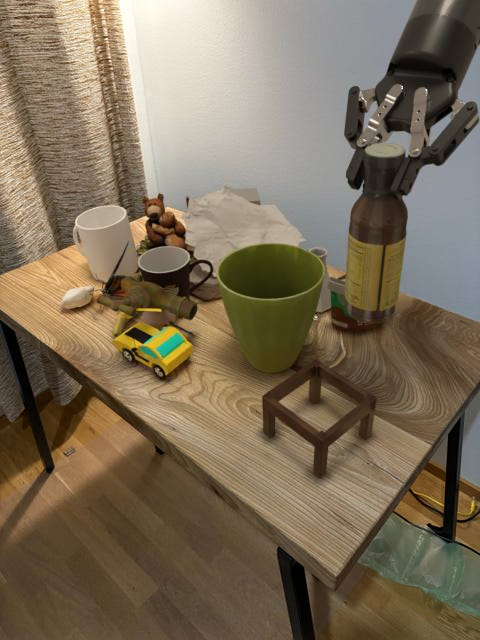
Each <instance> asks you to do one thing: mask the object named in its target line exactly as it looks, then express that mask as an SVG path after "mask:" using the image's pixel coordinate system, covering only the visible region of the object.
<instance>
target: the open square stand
mask: <svg viewBox="0 0 480 640" xmlns="http://www.w3.org/2000/svg"><path fill="white" fill-rule="evenodd" d="M322 380H323V381H324V382H326V383H328V384H329V385H331V386H332V387H333V388H335V389H337V390H338V391H339V392H341V393H342V394H344V395H346V396H347V397H349V398H350V399H352V400H353V401H355V402H357V403H358V405H356V406H355V407H354V408H353V409H352V410H350V411H349V412H348V413H347V414H345V415H344V416H343V417H341V418H340V419H339V420H337V422H335V423H333V425H331V426H330V427H329V428H328V429H326V430H325V431H324V430H320V431H319V430H317V429H316V428H315V427H313V426H312V425H311V424H310V423H308V422H307V421H305V420H304V419H302V418H301V417H300V416H299V415H297V414H296V413H295V412H293V411H291V409H289V408H287V407H286V406H285V405H283V404H282V403H281V402H280V401H282V400H283V399H284V398H286V397H288V396H289V395H290V394H292V393H293V392H294V391H296V390H298V388H300V387H301V386H303V385H304V384H306V383H307V382H309V383H308V402H309V401H310V402H311V403H312V404H314V405H316V404H317V403H319V402H320V401H321V397H322V396H321V395H322ZM377 401H378V396H376V395H375V394H373V393H372V392H369V391H368V390H366V388H363V387H361V386H360V385H358V384H357V383H355V382H353V381H352V380H351V379H349V378H347V377H346V376H344V375H343V374H341V373H339V372H338V371H336V370H334V369H333V368H332V367H330V366H328V365H327V364H325V363H323V362H322V361H321V360H319V359H317V358H315V359H314V360H312V361H311V362H309V363H308V364H306V365H305V366H303V367H302V368H301V369H299V370H298V371H296V372H295V373H292V375H290V376H288V377H287V378H286V379H285V380H283V381H282V382H280V383H279V384H277V385H276V386H274V387H273V388H271V389H270V390H268V391H267V392H265V393H264V394H263V395H262V396H261V404H262V405H261V406H262V434H263V435H264V436H266V437H267V438H268V439H270V438H272V437H273V436H274V435H276V433H277V432H276V431H277V430H276V429H277V428H276V427H277V426H276V419H278V420H279V421H280V422H281V423H282V424H284V425H285V426H287V427H288V428H289V429H290V430H292V431H293V432H295V434H297V435H299V436H300V437H301V438H302V439H304V440H306V442H308V443H309V444H310V445H312V446H313V448H314V449H313V463H312V464H313V465H312V474H313V475H314V476H315V477H317V478H318V480H321V479H322V478H323V477H324V476H326V474H327V470H328V458H329V456H328V455H329V447H331V446H332V445H333V444H334V443H336V441H338V440H339V439H340V438H341V437H342V436H344V435H345V434H346V433H347V432H349V431H350V430H351V429H352V428H354V427H355V426H356V425H357V424H359V429H358V436H359V437H361V438H362V439H364V440H366V441H367V439H369V438H370V437H371V436H372V432H373V427H374V426H373V425H374V419H375V412H376V406H377Z"/></svg>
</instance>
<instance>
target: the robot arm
mask: <svg viewBox="0 0 480 640" xmlns="http://www.w3.org/2000/svg"><path fill="white" fill-rule="evenodd" d="M479 46H480V0H416V2H415V3H414V5H413V8H412V10H411V12H410V14H409V17H408V19H407V21H406V23H405V26H404V28H403V31H402V32H401V35H400V38H399V39H398V42H397V44H396V46H395V49H394V51H393V53H392V56H391V58H390V60H389V63H388V65H387V70H386V73H385V75H384V76H383V78H382V79H381V80H380V81H379V82H378V83H377V84H376V85H375V87H374V88H368V89H363V90H361V89H360V87H359V86H358V85H353V86H352V87H350V88H349V89H348V95H347V103H346V110H345V112H346V113H345V119H344V120H345V121H344V132H343V135H344V138H345V140H346V141H347V142H348V145H349V146H350V148H351V149H352V150H355V151H354V153H353V155H352V157H351V159H350V161H349V163H348V166H347V168H346V171H345V177H346V179H347V184H348V186H349V187H350V189H352V190H355V191H359V190H360V189H361V188H362V186H363V183H364V172H365V165H364V162H363V159H364V150H365V148H366V147H367V146H370V145H372V144H376V143H387V141H388V140H389V139H390V138H391V136H392V135H393V133H394V132H395V133H397V132H405V133H408V134H409V135H410V139H409V146H408V155H407V156H405V157H404V159H403V161H402V163H401V165H400V167H399V170H398V172H397V174H396V176H395V179H394V181H393V183H392V186H391V188H390V194H391V196H392V198H393V199H396V200H401V199H403V197H404V196H405V197H408V195H409V194H410V193H411V192H412V189H413V186H414V185H415V183H416V180H417V178H418V177H419V173H420V171H421V170H422V169H423V167H425V166H427V165H434V166H436V167H440V166H442V165H444V164H445V163H446V161H448V159H449V158H450V157H451V156H452V155H453V154H454V152H455V151H456V150H457V149H458V148H459V146H460V145H461V144H462V143H463V142H464V141H465V139H466V138H467V137H468V136H469V135H470V134H471V133H472V131H473V130H474V129H475V127H476V126H477V125H478V124H479V123H480V112H479V108H478V104H477V102H475V101H471V100H470V101H468V102H465V101H463V100H461V99H459V96H458V93H459V90H460V88H461V87H462V85H463V82H464V80H465V78H466V75H467V73H468V71H469V68H470V66H471V64H472V63H473V62H472V61H473V60H474V57H475V55H476V52H477V50H478V48H479ZM375 102H376V105H377V109H376V110H375V112H374V113H373V114H372V115H371V117H370V118H369V120H368V124H367V127H366V128H365V129H364V123H365V116H366V114H368V113H369V112H370V109H371V107H372V105H373V104H374V103H375ZM449 115H450V117H449V118H450V122H448V124H447V125H446V126H445V128H444V129H443V130H442V131H441V132H440V133H439V135H438V136H437V137H436V138H435V139H434V141H432V143H431V144H430V142H431V136H432V127H434V126H435V125H436V124H437V123H439V122H441V121H443V120H444V119H445V118H446V117H448V116H449Z"/></svg>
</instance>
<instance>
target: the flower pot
mask: <svg viewBox="0 0 480 640" xmlns="http://www.w3.org/2000/svg"><path fill="white" fill-rule="evenodd" d="M324 275H325V267H324V264H323V262H322V261H321V260H320V258H319V257H317V256H316V255H315V254H313V253H312V252H310V251H309V250H307V249H306V248H303V247H301V246H294V245H290V244H283V243H261V244H254V245H249V246H246V247H242V248H240V249H237V250H235V251H233V252H231V253H229V254H228V255H226V256H225V257H224V258H223V259H222V260H221V261H220V263H219V264H218V266H217V269H216V276H217V281H218V285H219V289H220V293H221V300H222V303H223V306H224V310H225V314H226V316H227V319H228V321H229V323H230V327H231V328H232V331H233V333H234V336H235V338H236V340H237V342H238V344H239V347H240V348H241V350H242V352H243V354H244V356H245V358H246V359H247V361H248V363H249V364H250V365H251V367H252V368H253V369H255V370H257V371H260V372H262V373H270V374H276V373H281V372H283V371H286V370H289V369H290V368H291V367H292V366H293V365H294V364H295V362H296V361H297V359H298V357H299V355H300V354H301V351H302V349H303V347H304V345H305V343H306V340H307V337H308V335H309V333H310V330H311V327H312V325H313V322H314V320H315V316H316V313H317V312H316V310H317V306H318V302H319V298H320V294H321V289H322V285H323V280H324Z"/></svg>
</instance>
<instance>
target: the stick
mask: <svg viewBox="0 0 480 640" xmlns="http://www.w3.org/2000/svg"><path fill="white" fill-rule="evenodd" d="M169 323H170V325H171V326H172V327H174V328H176V329H177V330H179V331H182V332H185V333H187V334H188V335H189V336H192V337H195V334H194V332H193V331H189V330H187V329H185V328H184V327H182V326H180V325H179V326H178V324H175V322H174V323H173V322H172V321H169Z"/></svg>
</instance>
